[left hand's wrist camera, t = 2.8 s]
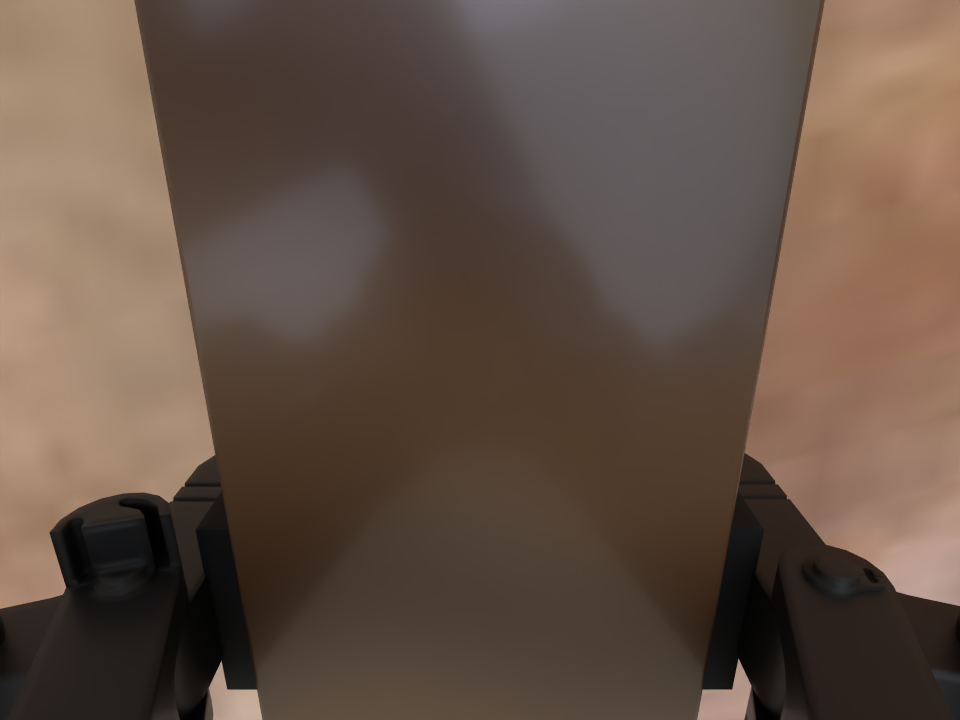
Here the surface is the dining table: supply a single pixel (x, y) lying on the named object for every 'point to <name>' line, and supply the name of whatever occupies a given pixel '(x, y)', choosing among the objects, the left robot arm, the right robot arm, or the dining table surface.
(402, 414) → the post
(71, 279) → the dining table surface
